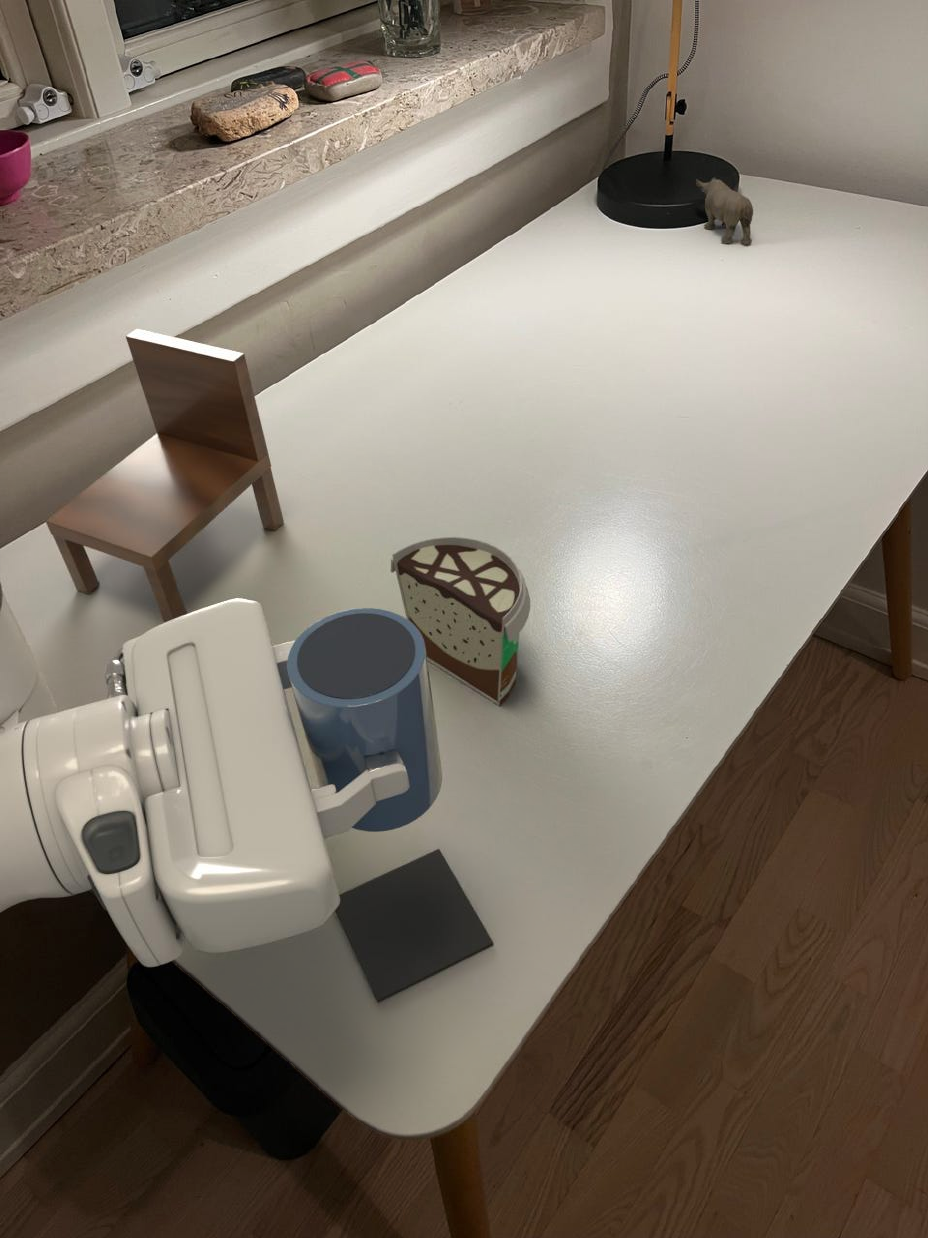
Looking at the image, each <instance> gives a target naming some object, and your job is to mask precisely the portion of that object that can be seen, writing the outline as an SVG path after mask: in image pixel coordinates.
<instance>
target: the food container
mask: <svg viewBox="0 0 928 1238" xmlns="http://www.w3.org/2000/svg"><path fill="white" fill-rule="evenodd" d="M394 572H395V574H396V579H397V583H398V587H399V591H400V595H401V600H402V605H403V608H404V613H405V618H406V619H407V620H409V621H410V622H411V623H413V624H414V625H415V627H416V628H417V629H418V630H419V632H420V633H421V635H422V637H423V639H424V642H425V648H426V655H427V662H428V663H431V664H432V665H434V666H435V667H436V668H438V669H440V670H442V671H443V672H445V673H446V674H447V675H450V676H451V677H452V678H454V679H456V680H457V681H459V682H460V683H462V684H464V685H465V686H467V687H468V688H470V689H471V690H473V691H474V692H476V693H478V694H479V695H481V696H482V697H484V698H485V699H487V700H488V701H489V702H492V703H493V704H495V705H496V706H497V707H501V706H502V705H503V704H504V703H505V702H506V701H507V700H508V699H509V697H510V695H511V693H512V691H513V689H514V688H515V685H516V679H517V678H516V677H517V665H518V655H519V643H520V642H519V641H520V633H521V631H523V629H524V628H525V625H526V623H527V621H528V619H529V615H530V612H531V597H530V592H529V589H528V586H527V583H526V579H525V577H524V575H523V573H522V571H521V569H520V568H519V567H518V565H517V563H516V562H515V561H514V560H513V558H511V556H509V555H508V554H507V553H506V552H505V551H503V550H502V549H500V548H498V547H497V546H496V545H493V544H491V543H489V542H486V541H483V540H479V539H475V538H469V537H461V536H443V537H436V538H429V539H424V540H420V541H418V542H415V543H412V544H409V545H406V546H405V547H403V548H401V549H399V550H398V551H396V552H394V553H393V554H392V558H391V559H390V573H391V574H392V573H394Z"/></svg>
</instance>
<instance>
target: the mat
mask: <svg viewBox="0 0 928 1238" xmlns="http://www.w3.org/2000/svg"><path fill="white" fill-rule="evenodd" d="M339 896H340V904H339V906H338V907H337V908H336V910H335V911H334V912H336V916H337V917H338V920H339V922H340V923H341V926H342V928H343V930H344V932H345V934H346V937H347V939H348V941H349V943H350V946H351V947H352V949H353V951H354V952H353V953H354V954H355V956H356V958H357V961H358V963H359V965H360V967H361V969H362V971H363V973H364V975H365V977H366V980H367V982H368V984H369V987H370V989H371V990H372V992H373V995H374V998H375V999H376V1002H377V1003H380V1002H382V1001H384V1000H386V999H388V998H390V997H392V996H394V995H397V994H398V993H400V992H402V991H404V990H406V989H408V988H410V987H412V986H414V985H416V984H419V983H421V982H422V981H424V980H425V979H428V978H430V977H432V976H434V975H436V974H438V973H440V972H442V971H444V970H446V969H448V968H450V967H453V966H454V965H456V964H458V963H460V962H462V961H464V960H466V959H468V958H470V957H472V956H474V955H476V954H478V953H480V952H482V951H484V950H486V949H488V948H491V947H492V946H494V941H493V940H492V938H491V936H490V934H489V933H488V931H487V929H486V928H485V926H484V924H483V922H482V921H481V919H480V916H479V915H478V914H477V912H476V910H475V908H474V907H473V905H472V903H471V901H470V900H469V898H468V897H467V895H466V893H465V891H464V889H463V888H462V885H461V884H460V882H459V881H458V879H457V877H456V875H455V874H454V872H453V870H452V868H451V867H450V865H449V863H448V862H447V860H446V858H445V856H444V855H443V853H442V851H441V850H440V848H437V849H435V850H433V851H431V852H429V853H427V854H425V855H423V856H420V857H418V858H416V859H413V860H412V861H409V862H407V863H405V864H403V865H400V866H399V867H397V868H394V869H392V870H389V871H388V872H385V873H383V874H381V875H379V876H377V877H375V878H373V879H370V880H369V881H366V882H364V883H362V884H359V885H358V886H356V887H353V888H351V889H348V890H346V891H344V892H342V893H339Z"/></svg>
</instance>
